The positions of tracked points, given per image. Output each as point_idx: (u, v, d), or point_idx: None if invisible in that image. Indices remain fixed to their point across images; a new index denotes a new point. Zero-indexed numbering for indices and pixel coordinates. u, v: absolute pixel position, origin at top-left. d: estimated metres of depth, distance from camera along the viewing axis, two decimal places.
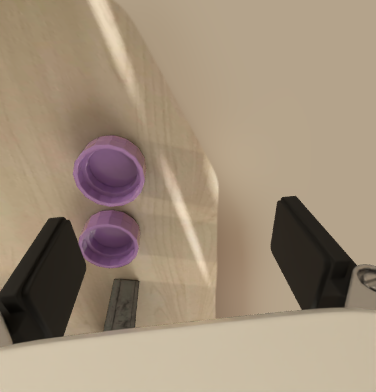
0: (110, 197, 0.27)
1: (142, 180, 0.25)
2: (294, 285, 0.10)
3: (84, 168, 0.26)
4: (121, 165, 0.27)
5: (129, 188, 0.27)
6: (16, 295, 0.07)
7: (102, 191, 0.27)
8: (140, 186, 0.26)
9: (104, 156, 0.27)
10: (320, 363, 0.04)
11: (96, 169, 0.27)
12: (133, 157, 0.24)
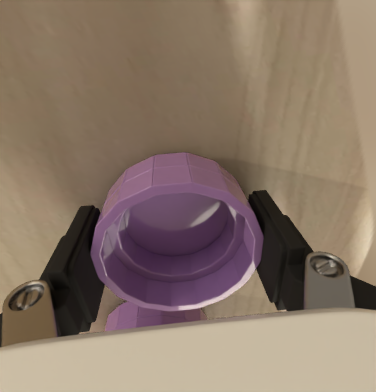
0: (167, 285, 0.13)
1: (256, 261, 0.11)
2: (262, 274, 0.11)
3: (114, 229, 0.11)
4: (192, 215, 0.13)
5: (208, 266, 0.13)
6: (63, 272, 0.08)
7: (151, 273, 0.12)
8: (247, 273, 0.11)
9: (156, 198, 0.12)
10: (320, 363, 0.04)
11: (137, 224, 0.13)
12: (249, 213, 0.09)
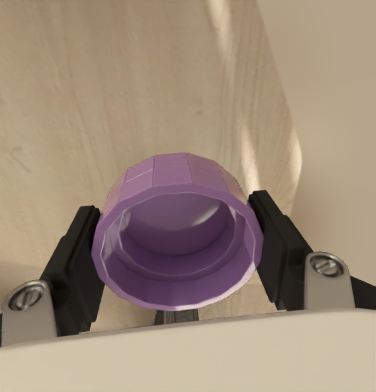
0: (168, 285, 0.13)
1: (256, 261, 0.11)
2: (262, 274, 0.11)
3: (114, 229, 0.11)
4: (192, 215, 0.13)
5: (208, 266, 0.13)
6: (63, 272, 0.08)
7: (151, 273, 0.12)
8: (248, 273, 0.11)
9: (157, 198, 0.12)
10: (320, 363, 0.04)
11: (137, 224, 0.13)
12: (249, 213, 0.09)
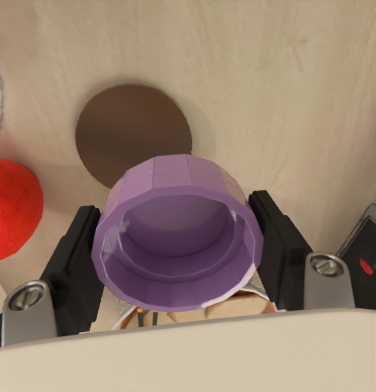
0: (168, 286, 0.13)
1: (256, 262, 0.11)
2: (262, 274, 0.11)
3: (114, 231, 0.11)
4: (192, 217, 0.13)
5: (208, 267, 0.13)
6: (63, 272, 0.08)
7: (151, 274, 0.12)
8: (248, 274, 0.11)
9: (157, 199, 0.12)
10: (320, 363, 0.04)
11: (137, 225, 0.13)
12: (249, 214, 0.09)
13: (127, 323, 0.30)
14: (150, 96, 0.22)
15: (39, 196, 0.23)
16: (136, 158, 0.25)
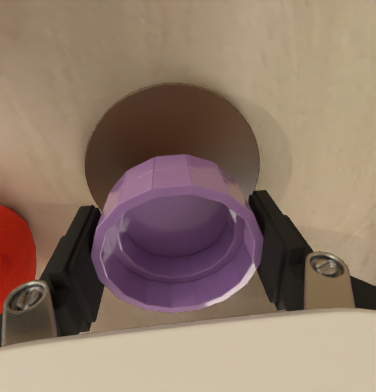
0: (167, 286, 0.13)
1: (256, 263, 0.11)
2: (262, 274, 0.11)
3: (114, 231, 0.11)
4: (192, 217, 0.13)
5: (208, 267, 0.13)
6: (63, 272, 0.08)
7: (151, 274, 0.12)
8: (247, 274, 0.11)
9: (157, 199, 0.12)
10: (320, 363, 0.04)
11: (137, 226, 0.13)
12: (249, 215, 0.09)
13: None
14: (205, 102, 0.14)
15: (29, 258, 0.15)
16: None
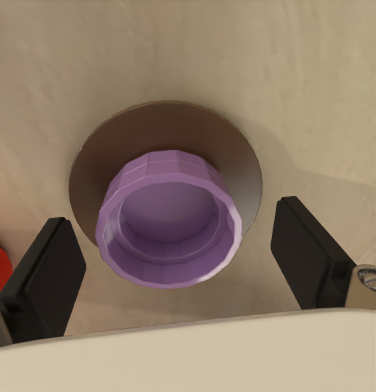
0: (161, 267, 0.14)
1: (236, 242, 0.12)
2: (294, 285, 0.10)
3: (114, 216, 0.13)
4: (183, 206, 0.14)
5: (197, 250, 0.14)
6: (16, 295, 0.07)
7: (147, 257, 0.14)
8: (230, 253, 0.13)
9: (151, 190, 0.14)
10: (320, 363, 0.04)
11: (135, 214, 0.14)
12: (228, 199, 0.11)
13: None
14: (202, 122, 0.12)
15: None
16: None
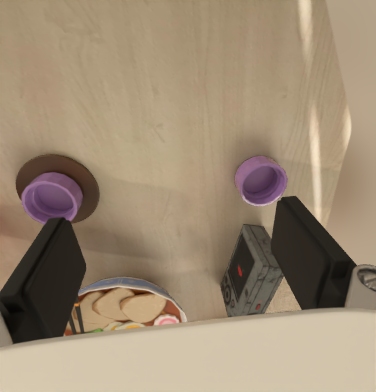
0: None
1: (75, 206, 0.34)
2: (294, 285, 0.10)
3: (31, 197, 0.34)
4: (63, 193, 0.36)
5: (69, 211, 0.36)
6: (16, 295, 0.07)
7: (48, 214, 0.35)
8: (74, 210, 0.34)
9: (48, 187, 0.35)
10: (320, 363, 0.04)
11: (43, 197, 0.36)
12: (66, 189, 0.32)
13: None
14: (63, 162, 0.34)
15: None
16: None
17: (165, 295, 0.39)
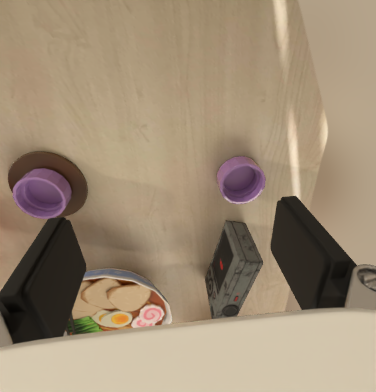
0: (44, 212, 0.38)
1: (64, 200, 0.36)
2: (294, 285, 0.10)
3: (22, 191, 0.36)
4: (52, 188, 0.38)
5: (58, 205, 0.38)
6: (16, 295, 0.07)
7: (38, 207, 0.37)
8: (63, 204, 0.36)
9: (38, 182, 0.37)
10: (320, 363, 0.04)
11: (34, 191, 0.38)
12: (54, 185, 0.34)
13: None
14: (52, 159, 0.36)
15: None
16: None
17: (149, 286, 0.42)
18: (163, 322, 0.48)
